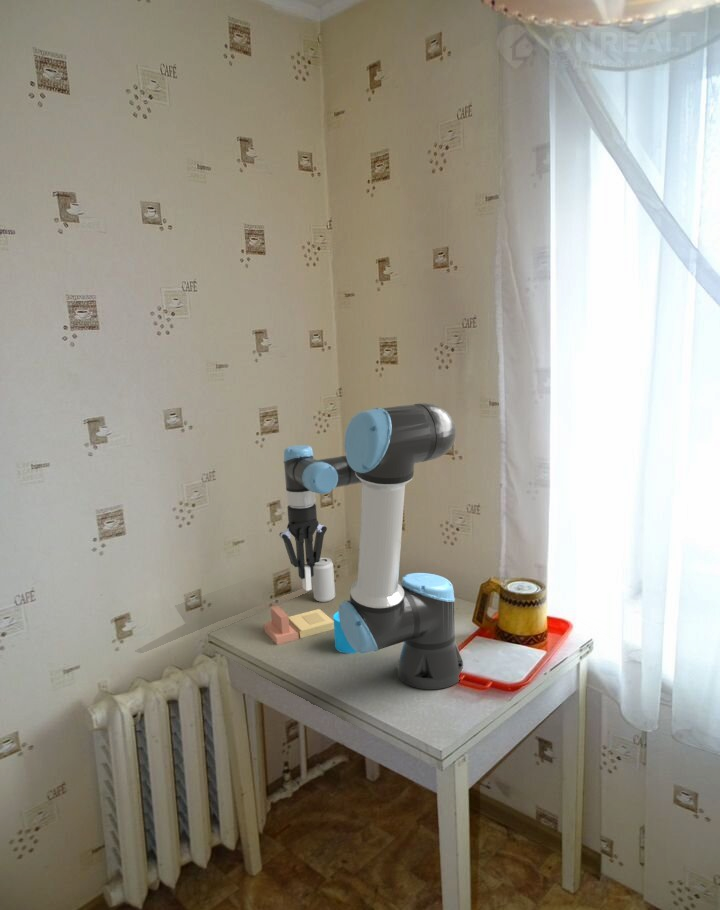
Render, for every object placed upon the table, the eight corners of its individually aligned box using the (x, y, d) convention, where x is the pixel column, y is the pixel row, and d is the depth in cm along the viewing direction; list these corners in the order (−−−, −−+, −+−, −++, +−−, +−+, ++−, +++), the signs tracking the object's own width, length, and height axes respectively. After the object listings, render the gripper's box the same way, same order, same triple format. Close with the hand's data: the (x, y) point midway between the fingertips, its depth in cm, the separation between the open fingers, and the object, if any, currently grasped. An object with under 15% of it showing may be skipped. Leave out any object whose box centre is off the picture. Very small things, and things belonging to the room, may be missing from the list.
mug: (370, 650, 168) (368, 620, 166) (338, 655, 166) (336, 624, 165) (360, 630, 180) (359, 601, 178) (330, 634, 178) (328, 605, 176)
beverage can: (339, 596, 202) (337, 558, 200) (327, 604, 197) (324, 565, 194) (322, 593, 205) (319, 555, 203) (309, 600, 200) (306, 562, 198)
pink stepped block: (298, 638, 176) (296, 615, 175) (277, 644, 174) (275, 621, 172) (284, 624, 185) (283, 602, 184) (264, 630, 182) (262, 607, 181)
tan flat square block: (334, 628, 181) (334, 621, 180) (300, 638, 176) (299, 630, 176) (319, 615, 190) (319, 608, 189) (286, 624, 185) (286, 617, 185)
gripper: (318, 497, 183) (323, 578, 187) (273, 505, 177) (279, 589, 182) (330, 503, 176) (335, 587, 181) (283, 512, 170) (289, 599, 175)
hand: (307, 588), depth 181 cm, fingers closed
